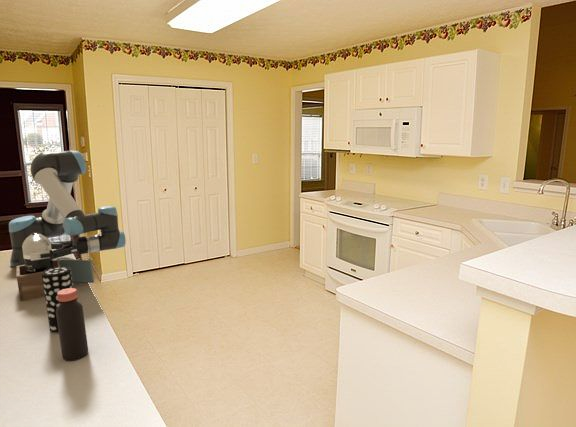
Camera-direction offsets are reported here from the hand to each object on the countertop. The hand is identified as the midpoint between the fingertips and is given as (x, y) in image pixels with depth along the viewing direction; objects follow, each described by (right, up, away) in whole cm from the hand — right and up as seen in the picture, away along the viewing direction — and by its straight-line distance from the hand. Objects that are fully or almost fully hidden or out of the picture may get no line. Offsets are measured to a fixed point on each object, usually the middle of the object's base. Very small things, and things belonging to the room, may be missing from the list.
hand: (29, 253), depth 163 cm
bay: (+2, -16, +5) cm, 17 cm away
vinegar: (+43, -26, -45) cm, 68 cm away
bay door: (+12, -14, +14) cm, 23 cm away
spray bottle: (+3, -16, +5) cm, 17 cm away
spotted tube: (+30, -22, -28) cm, 47 cm away
